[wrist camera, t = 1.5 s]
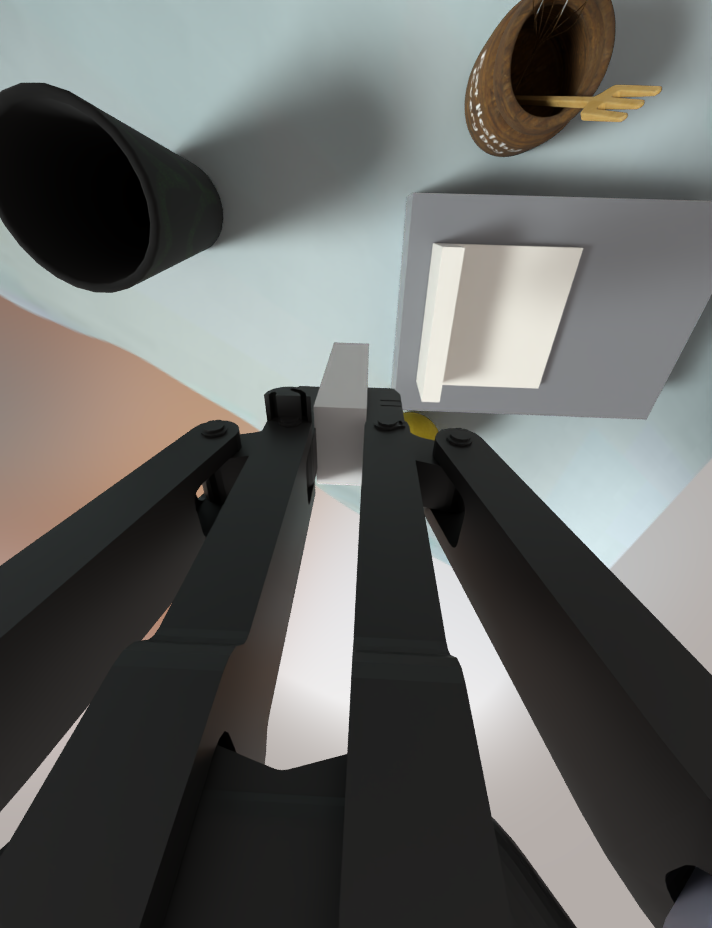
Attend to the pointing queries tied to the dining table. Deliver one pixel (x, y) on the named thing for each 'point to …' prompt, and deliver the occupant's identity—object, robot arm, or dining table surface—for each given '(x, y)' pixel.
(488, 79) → the utensil holder
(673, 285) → the socket block
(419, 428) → the lemon
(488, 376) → the panel
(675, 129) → the dining table surface
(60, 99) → the cup
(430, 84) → the dining table surface
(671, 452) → the dining table surface
